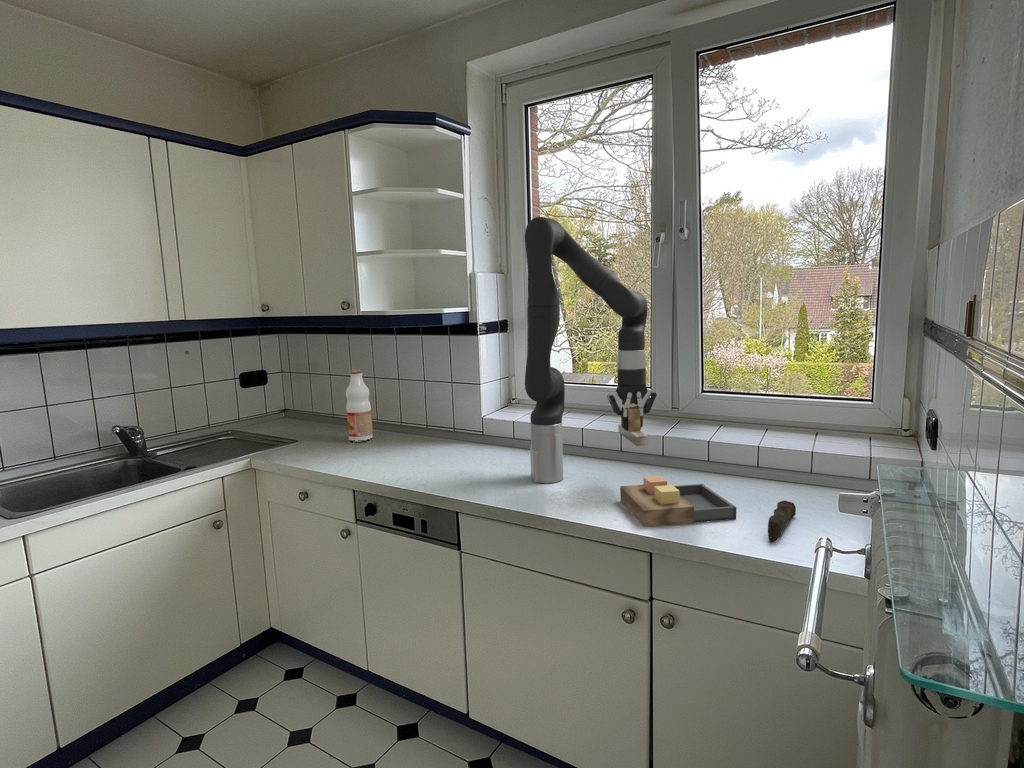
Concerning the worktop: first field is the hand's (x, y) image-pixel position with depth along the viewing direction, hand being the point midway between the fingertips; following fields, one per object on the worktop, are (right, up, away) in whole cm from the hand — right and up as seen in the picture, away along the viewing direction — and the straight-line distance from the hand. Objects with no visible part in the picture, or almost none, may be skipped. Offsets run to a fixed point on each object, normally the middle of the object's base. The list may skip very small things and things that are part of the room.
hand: (632, 429), depth 158 cm
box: (+14, -19, -13) cm, 27 cm away
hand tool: (+28, -21, -27) cm, 44 cm away
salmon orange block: (+4, -13, -11) cm, 18 cm away
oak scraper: (0, -3, 0) cm, 3 cm away
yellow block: (+5, -14, -19) cm, 24 cm away
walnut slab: (+3, -19, -14) cm, 24 cm away
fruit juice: (-93, -10, +73) cm, 119 cm away
